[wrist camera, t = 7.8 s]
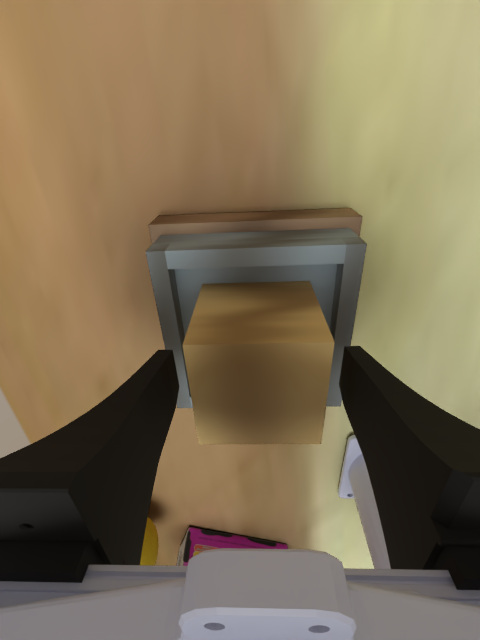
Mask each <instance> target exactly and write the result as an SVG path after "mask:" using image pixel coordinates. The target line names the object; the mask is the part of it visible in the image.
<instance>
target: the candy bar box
mask: <svg viewBox="0 0 480 640" xmlns="http://www.w3.org/2000/svg"><path fill="white" fill-rule="evenodd" d="M220 548H240V549H288V546H287V545H286V544H283V543H277V542H272V541H267V540H261V539H256V538H250V537H245V536H239V535H233V534H228V533H222V532H216V531H211V530H205V529H199V528H194V527H189V528H188V530H187V532H186V535H185V537H184V539H183V541H182V543H181V546H180V549H179V553H178V559H177V565H176V566H188V562H189V560H190V559H191V558H192V557H193V556H195V555H197V554H199V553H200V552H202V551H204V550H211V549H220Z"/></svg>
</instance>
